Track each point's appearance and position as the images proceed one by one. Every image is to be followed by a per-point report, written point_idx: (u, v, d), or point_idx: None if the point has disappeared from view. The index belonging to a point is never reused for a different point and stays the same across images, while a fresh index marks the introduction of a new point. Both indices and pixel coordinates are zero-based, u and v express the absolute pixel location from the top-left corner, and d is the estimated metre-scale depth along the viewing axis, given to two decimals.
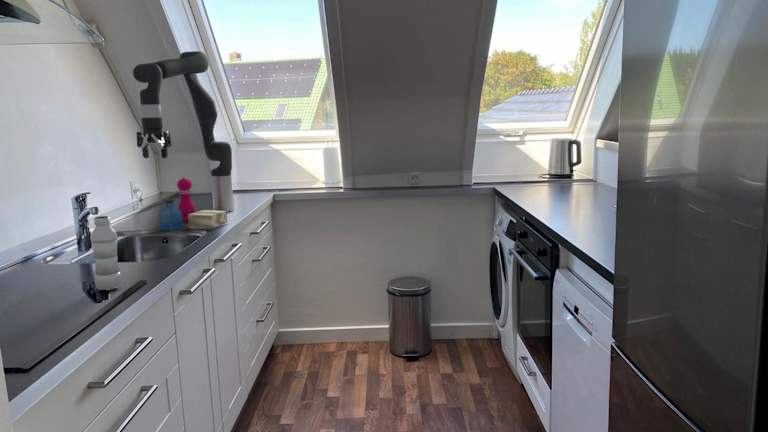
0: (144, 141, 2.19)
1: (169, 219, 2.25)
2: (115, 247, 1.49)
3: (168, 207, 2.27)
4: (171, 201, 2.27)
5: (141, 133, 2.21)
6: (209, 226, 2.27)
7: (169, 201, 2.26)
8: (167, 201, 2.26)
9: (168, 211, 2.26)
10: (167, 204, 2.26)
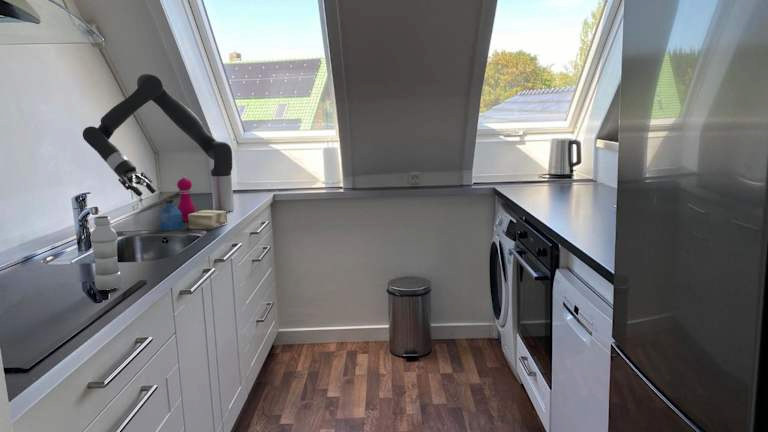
0: None
1: (169, 219, 2.25)
2: (115, 247, 1.49)
3: (168, 207, 2.27)
4: (171, 201, 2.27)
5: None
6: (209, 226, 2.27)
7: (169, 201, 2.26)
8: (167, 201, 2.26)
9: (168, 211, 2.26)
10: (167, 204, 2.26)
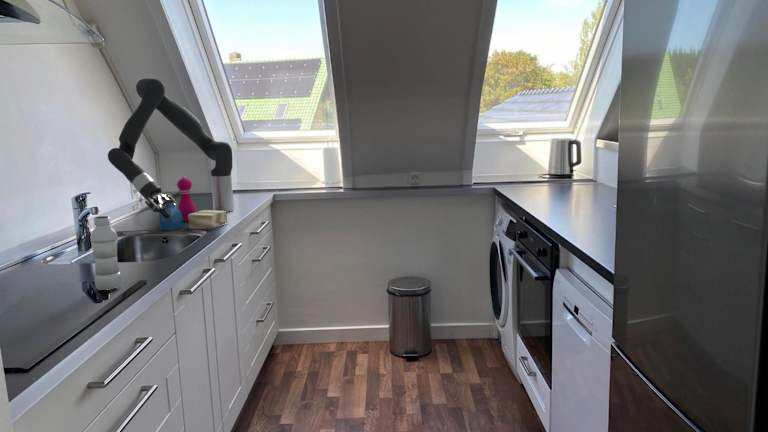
0: None
1: (169, 219, 2.25)
2: (115, 247, 1.49)
3: (168, 207, 2.27)
4: (171, 201, 2.27)
5: None
6: (209, 226, 2.27)
7: (169, 201, 2.26)
8: (167, 201, 2.26)
9: (168, 211, 2.26)
10: (167, 204, 2.26)
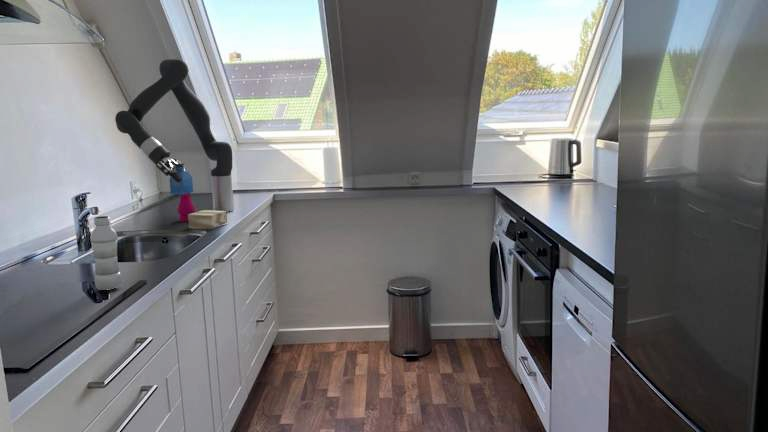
0: None
1: (181, 183, 2.24)
2: (115, 247, 1.49)
3: (179, 171, 2.25)
4: (182, 165, 2.26)
5: None
6: (209, 226, 2.27)
7: (180, 165, 2.25)
8: (178, 165, 2.25)
9: (180, 175, 2.24)
10: (178, 168, 2.25)
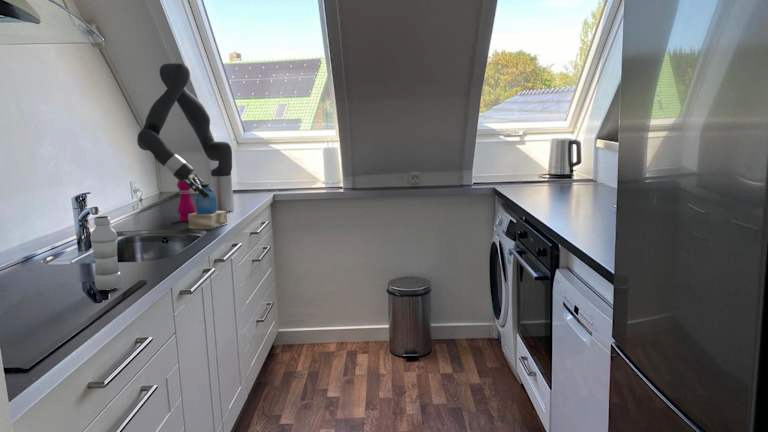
0: None
1: (209, 203, 2.29)
2: (115, 247, 1.49)
3: None
4: (207, 185, 2.30)
5: None
6: (209, 226, 2.27)
7: (206, 185, 2.30)
8: (204, 185, 2.29)
9: None
10: (204, 188, 2.29)
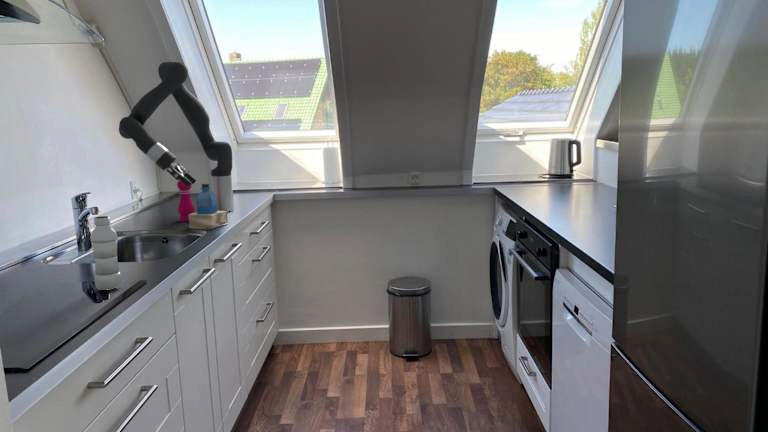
0: None
1: (209, 202, 2.29)
2: (115, 247, 1.49)
3: (205, 191, 2.30)
4: (208, 185, 2.31)
5: None
6: (209, 226, 2.27)
7: (206, 185, 2.30)
8: (204, 185, 2.30)
9: (208, 195, 2.29)
10: (205, 188, 2.30)
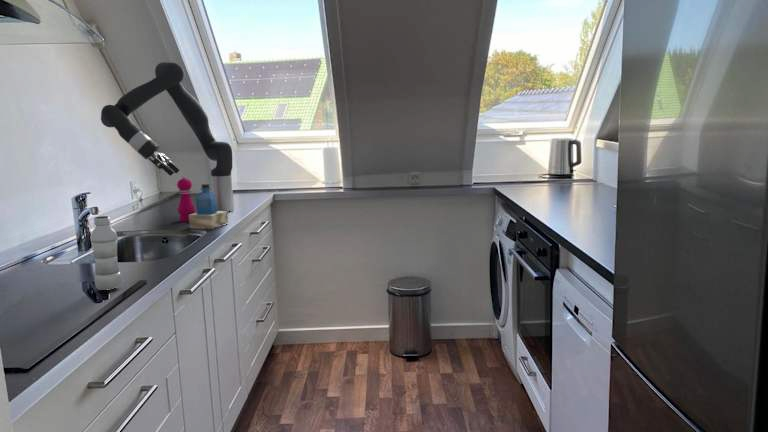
0: None
1: (209, 203, 2.29)
2: (115, 247, 1.49)
3: (205, 192, 2.30)
4: (208, 185, 2.30)
5: None
6: (209, 226, 2.27)
7: (206, 186, 2.30)
8: (204, 186, 2.29)
9: (207, 196, 2.29)
10: (205, 189, 2.29)
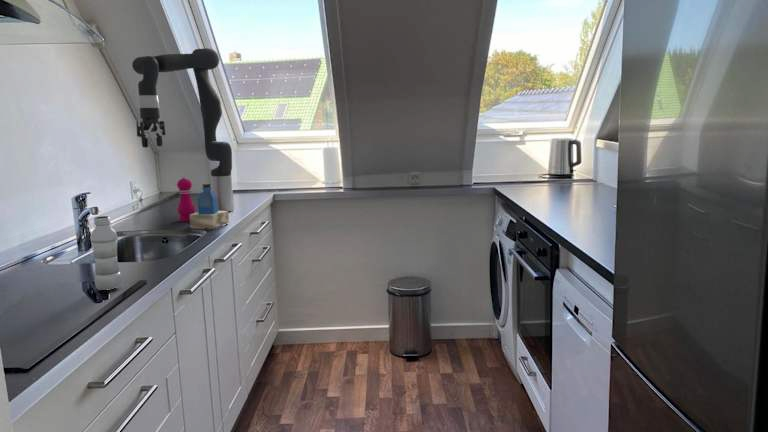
0: None
1: (211, 203, 2.29)
2: (115, 247, 1.49)
3: (207, 191, 2.30)
4: (209, 185, 2.30)
5: None
6: (210, 226, 2.27)
7: (208, 185, 2.30)
8: (206, 185, 2.29)
9: (209, 195, 2.29)
10: (206, 188, 2.29)
